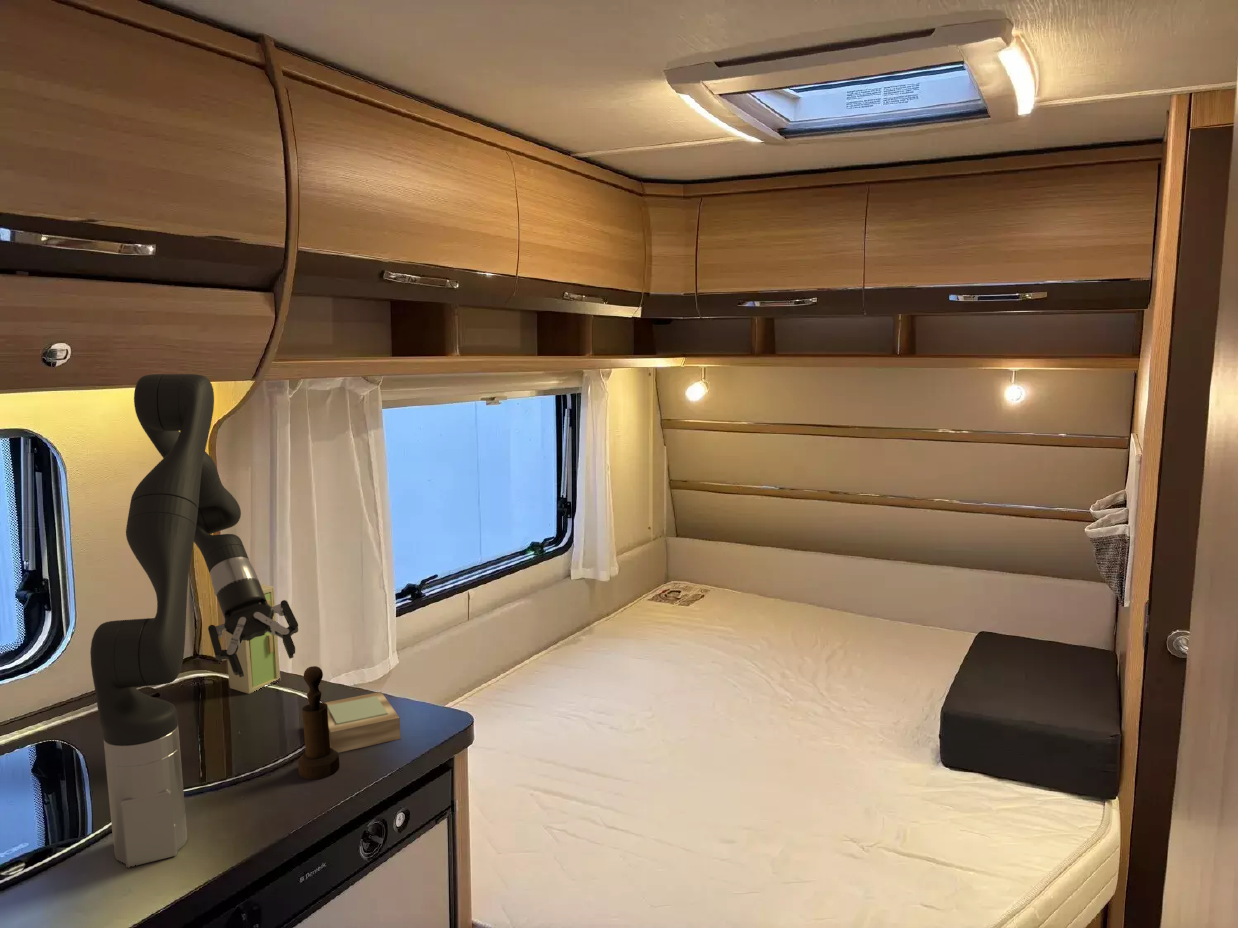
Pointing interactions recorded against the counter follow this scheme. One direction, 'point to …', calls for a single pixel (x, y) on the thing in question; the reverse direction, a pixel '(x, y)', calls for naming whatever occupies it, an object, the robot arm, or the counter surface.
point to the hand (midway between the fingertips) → (267, 665)
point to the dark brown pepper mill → (316, 732)
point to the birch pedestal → (361, 722)
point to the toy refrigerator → (256, 656)
